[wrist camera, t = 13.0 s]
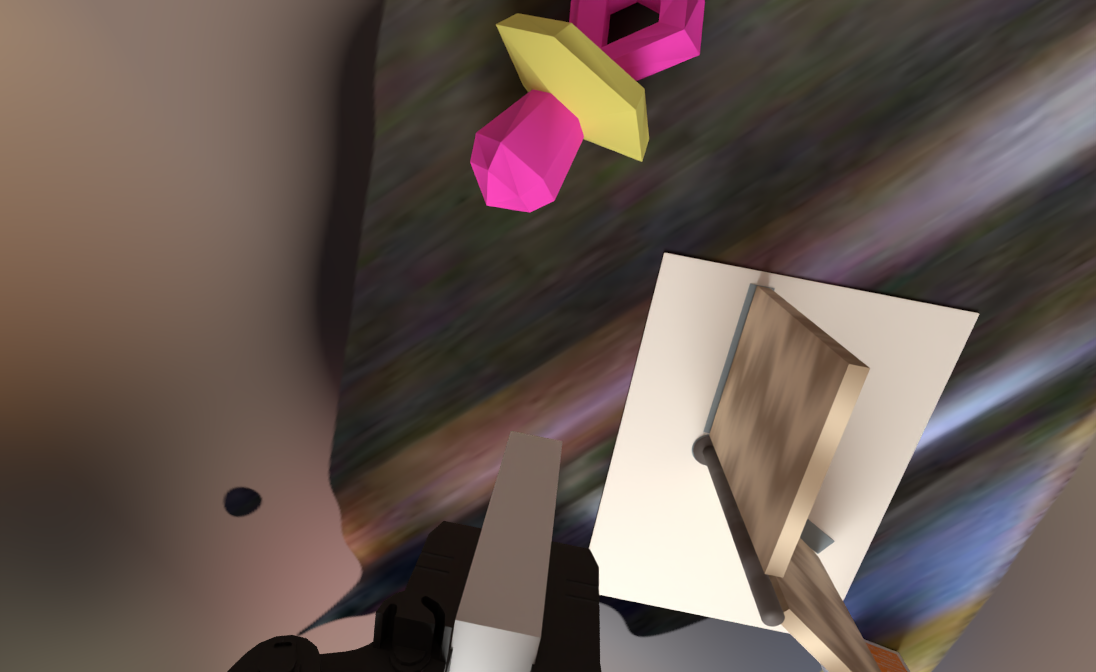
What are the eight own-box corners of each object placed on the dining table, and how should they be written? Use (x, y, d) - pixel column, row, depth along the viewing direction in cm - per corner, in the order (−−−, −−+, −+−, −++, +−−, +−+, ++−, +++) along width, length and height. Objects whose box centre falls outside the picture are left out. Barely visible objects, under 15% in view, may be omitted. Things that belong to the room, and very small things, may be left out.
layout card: (664, 252, 39) (664, 253, 39) (977, 312, 39) (980, 314, 39) (578, 588, 50) (578, 591, 50) (823, 638, 50) (824, 641, 50)
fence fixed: (743, 281, 40) (844, 372, 24) (778, 288, 40) (903, 384, 24) (688, 458, 45) (741, 631, 29) (719, 464, 45) (789, 640, 29)
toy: (735, 62, 36) (758, -77, 26) (566, 275, 36) (526, 219, 26) (615, -4, 39) (595, -152, 29) (460, 195, 39) (386, 117, 29)
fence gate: (716, 467, 44) (774, 617, 30) (726, 460, 44) (789, 608, 30) (808, 562, 47) (901, 743, 32) (818, 556, 46) (916, 736, 32)
